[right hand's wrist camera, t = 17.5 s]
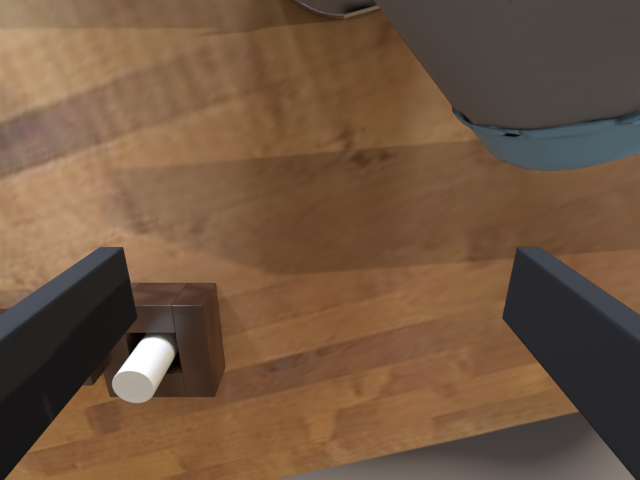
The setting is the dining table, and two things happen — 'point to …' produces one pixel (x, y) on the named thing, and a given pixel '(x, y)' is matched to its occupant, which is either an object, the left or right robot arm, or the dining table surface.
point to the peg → (145, 367)
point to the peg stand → (191, 331)
